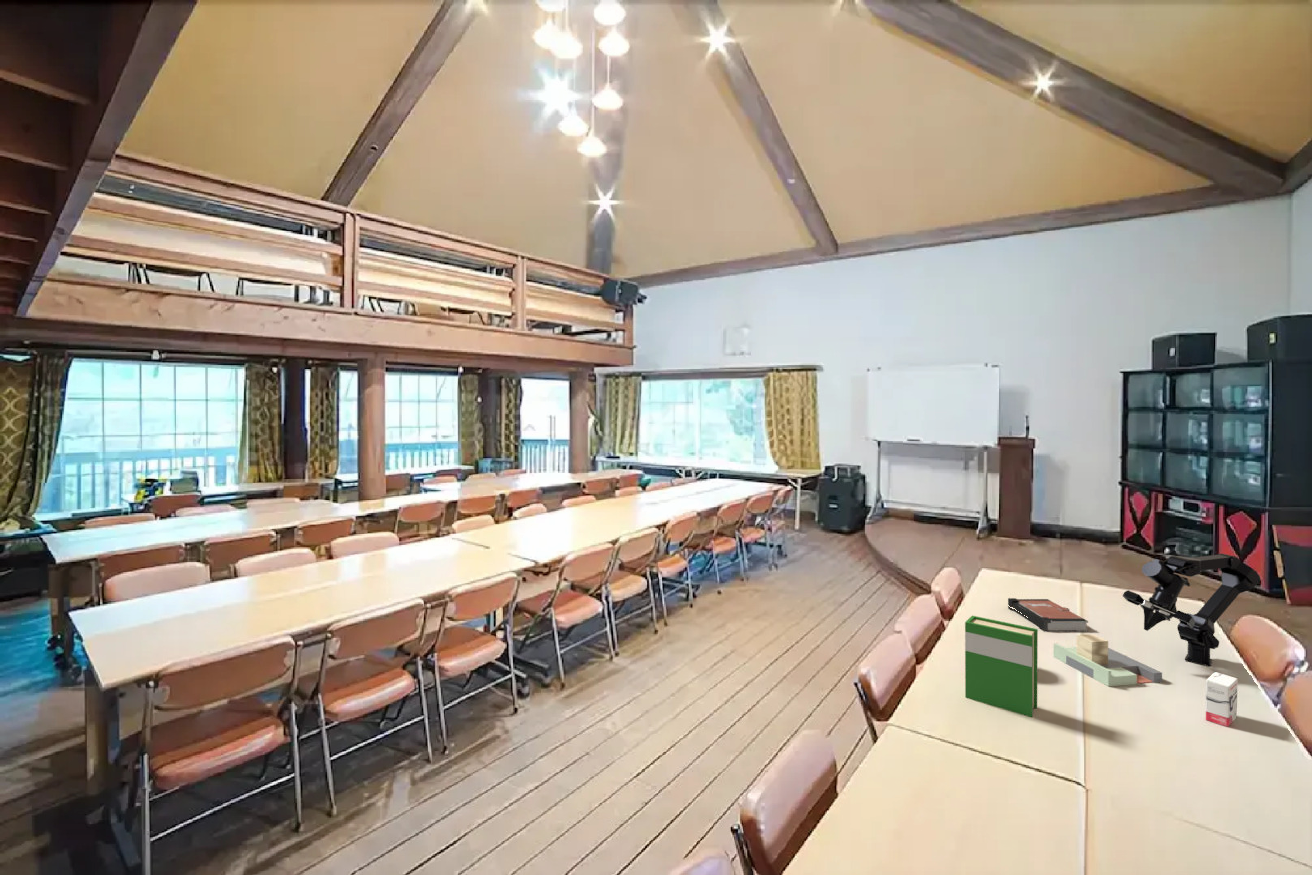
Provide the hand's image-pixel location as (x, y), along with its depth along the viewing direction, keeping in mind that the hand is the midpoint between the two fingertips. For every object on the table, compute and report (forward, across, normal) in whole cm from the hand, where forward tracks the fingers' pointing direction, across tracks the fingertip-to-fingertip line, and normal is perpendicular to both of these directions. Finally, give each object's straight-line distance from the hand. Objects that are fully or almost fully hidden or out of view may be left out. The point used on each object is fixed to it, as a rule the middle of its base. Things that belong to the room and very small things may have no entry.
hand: (1145, 629), depth 194 cm
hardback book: (+46, +7, +46) cm, 66 cm away
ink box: (+17, -28, +13) cm, 35 cm away
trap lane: (+18, +3, +3) cm, 19 cm away
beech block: (+19, +6, +9) cm, 21 cm away
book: (+9, +38, -26) cm, 47 cm away
